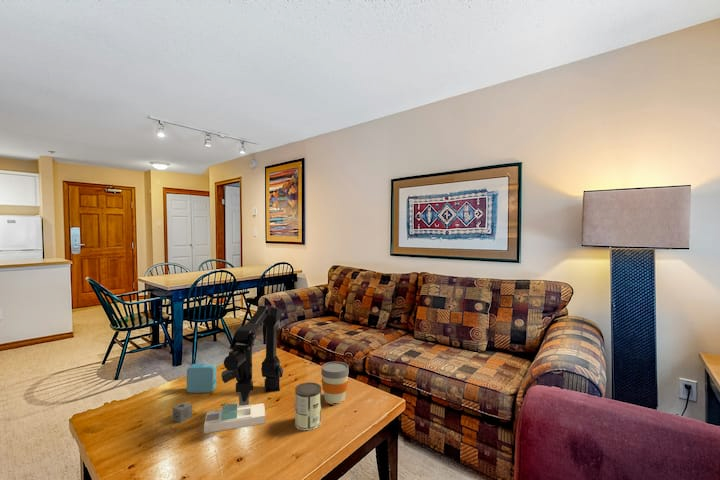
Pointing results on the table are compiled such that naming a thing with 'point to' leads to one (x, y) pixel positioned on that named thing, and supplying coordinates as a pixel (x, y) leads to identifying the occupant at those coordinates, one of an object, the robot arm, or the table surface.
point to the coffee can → (307, 406)
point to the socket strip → (244, 418)
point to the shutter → (229, 411)
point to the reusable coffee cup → (334, 381)
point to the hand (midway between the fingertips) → (244, 399)
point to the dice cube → (182, 412)
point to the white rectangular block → (242, 401)
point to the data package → (201, 378)
